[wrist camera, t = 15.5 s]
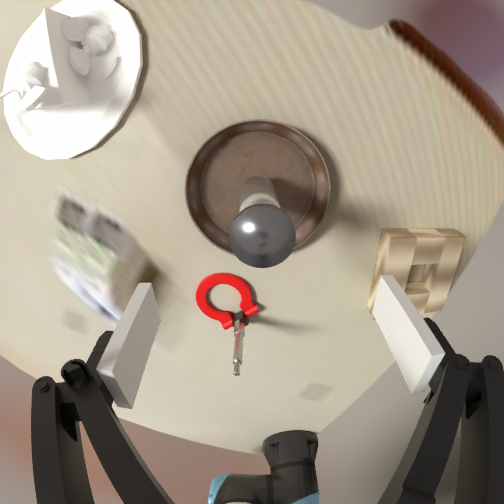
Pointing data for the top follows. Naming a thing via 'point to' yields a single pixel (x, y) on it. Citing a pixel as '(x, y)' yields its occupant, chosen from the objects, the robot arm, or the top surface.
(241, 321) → the tow hook
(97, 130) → the dish
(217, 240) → the plant saucer
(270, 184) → the steel pin
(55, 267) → the top surface
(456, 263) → the oak hitch block
